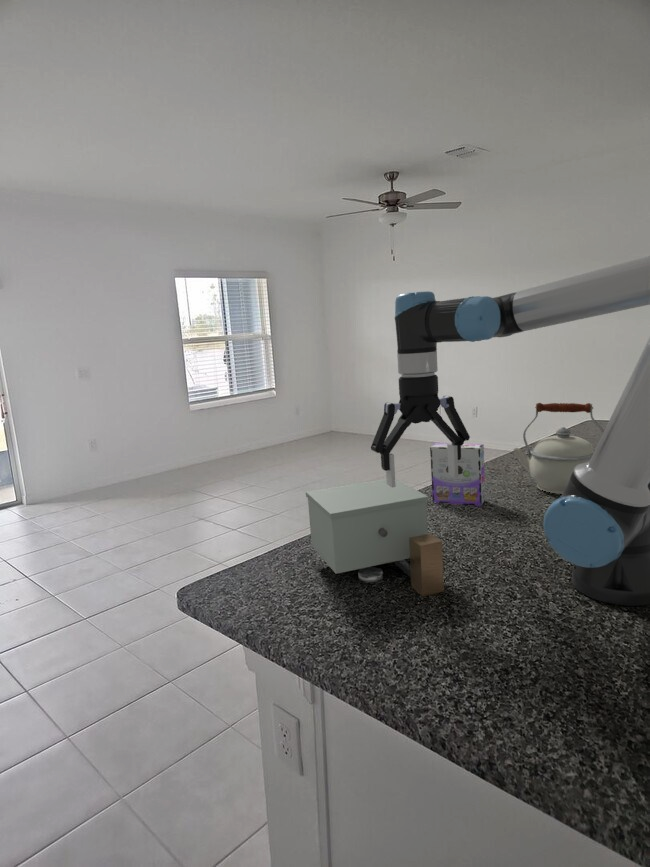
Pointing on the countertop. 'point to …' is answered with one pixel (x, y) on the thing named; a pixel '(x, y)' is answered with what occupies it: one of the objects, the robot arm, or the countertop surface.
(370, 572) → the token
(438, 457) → the candy box
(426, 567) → the block
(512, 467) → the countertop surface
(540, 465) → the kettle
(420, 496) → the cabinet
